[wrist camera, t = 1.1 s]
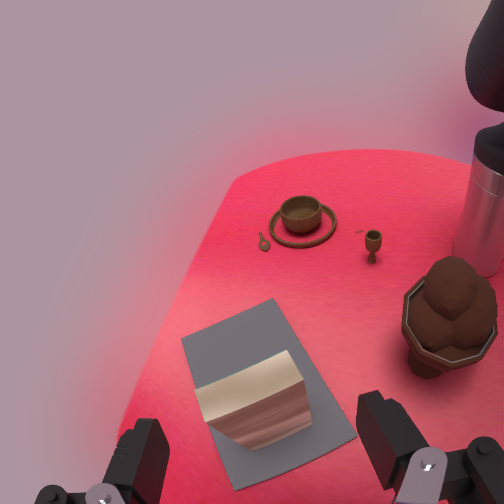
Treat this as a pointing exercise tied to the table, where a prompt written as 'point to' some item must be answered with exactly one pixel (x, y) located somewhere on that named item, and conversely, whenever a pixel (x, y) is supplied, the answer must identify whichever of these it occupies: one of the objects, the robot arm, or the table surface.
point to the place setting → (312, 224)
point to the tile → (257, 402)
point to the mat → (246, 354)
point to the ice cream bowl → (448, 318)
